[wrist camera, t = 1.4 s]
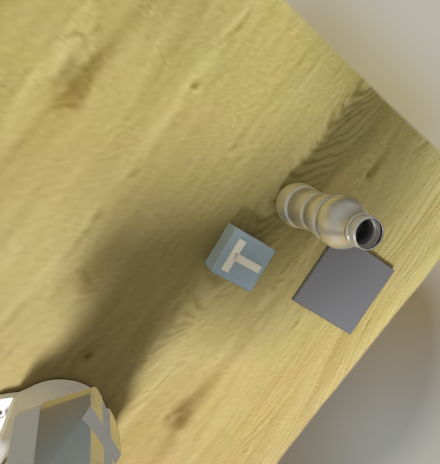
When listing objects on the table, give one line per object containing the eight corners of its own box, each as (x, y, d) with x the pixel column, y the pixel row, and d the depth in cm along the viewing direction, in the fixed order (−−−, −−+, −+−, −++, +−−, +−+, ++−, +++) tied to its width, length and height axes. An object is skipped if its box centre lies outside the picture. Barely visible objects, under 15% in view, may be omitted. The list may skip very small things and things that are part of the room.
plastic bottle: (279, 231, 64) (351, 274, 45) (265, 190, 62) (334, 218, 43) (316, 213, 65) (402, 248, 46) (303, 172, 63) (387, 192, 44)
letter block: (242, 282, 65) (251, 292, 61) (204, 262, 62) (210, 271, 58) (265, 243, 64) (276, 251, 60) (228, 222, 62) (237, 228, 58)
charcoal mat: (348, 332, 72) (350, 334, 71) (291, 299, 67) (293, 300, 67) (392, 269, 71) (394, 270, 70) (337, 230, 67) (339, 231, 66)
